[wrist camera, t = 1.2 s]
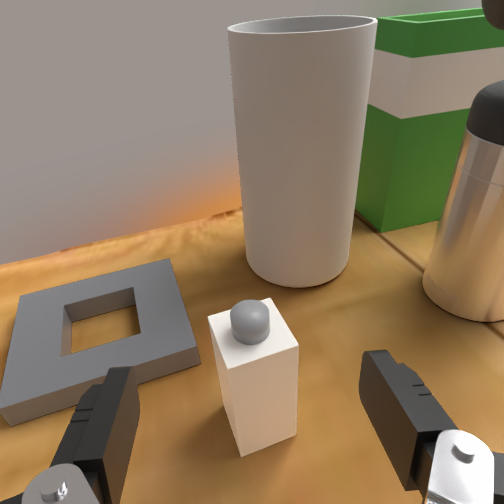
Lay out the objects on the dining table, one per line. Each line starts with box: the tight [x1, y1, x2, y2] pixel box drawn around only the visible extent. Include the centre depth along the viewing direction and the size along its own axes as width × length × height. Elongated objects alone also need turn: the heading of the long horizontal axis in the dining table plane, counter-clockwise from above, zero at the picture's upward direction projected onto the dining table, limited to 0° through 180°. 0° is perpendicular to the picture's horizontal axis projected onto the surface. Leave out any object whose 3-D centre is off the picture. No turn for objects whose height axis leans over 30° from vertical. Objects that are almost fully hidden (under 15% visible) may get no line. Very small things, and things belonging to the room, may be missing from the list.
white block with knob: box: [208, 298, 299, 457], centre depth 26 cm, size 4×4×12 cm
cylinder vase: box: [228, 16, 378, 288], centre depth 39 cm, size 12×12×25 cm
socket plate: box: [0, 258, 201, 427], centre depth 37 cm, size 16×14×2 cm
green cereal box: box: [355, 8, 504, 233], centre depth 47 cm, size 18×7×24 cm, turn 106°
